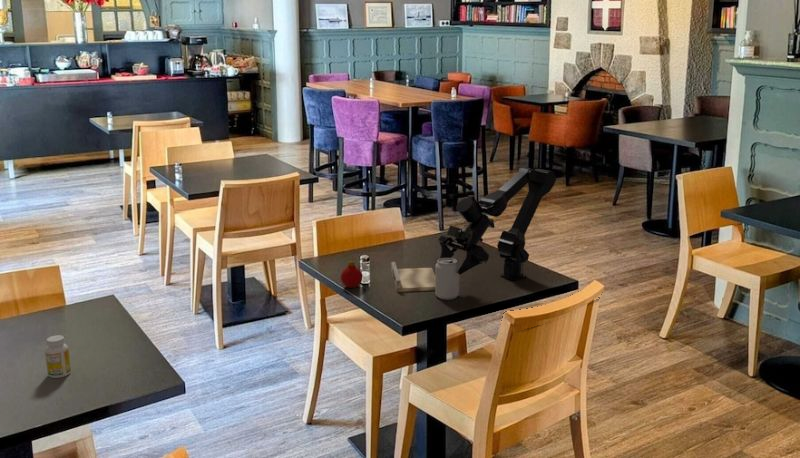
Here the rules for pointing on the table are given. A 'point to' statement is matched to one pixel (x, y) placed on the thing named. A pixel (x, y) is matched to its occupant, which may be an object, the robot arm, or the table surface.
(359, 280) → the christmas ornament
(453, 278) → the can
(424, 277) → the beige tray
